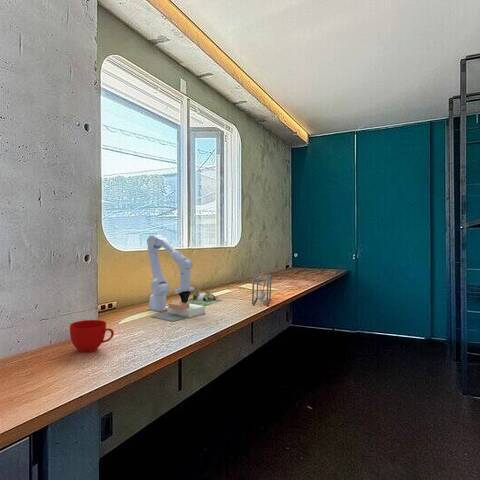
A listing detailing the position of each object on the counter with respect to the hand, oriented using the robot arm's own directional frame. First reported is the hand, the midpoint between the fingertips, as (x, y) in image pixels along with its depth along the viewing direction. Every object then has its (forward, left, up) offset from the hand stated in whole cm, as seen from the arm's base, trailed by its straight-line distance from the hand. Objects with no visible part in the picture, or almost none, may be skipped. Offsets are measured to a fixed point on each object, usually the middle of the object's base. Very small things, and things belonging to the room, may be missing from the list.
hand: (184, 304), depth 208 cm
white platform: (0, +2, -5) cm, 5 cm away
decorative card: (-15, +35, -6) cm, 38 cm away
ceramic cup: (+15, -70, -5) cm, 72 cm away
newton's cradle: (+16, +62, -5) cm, 64 cm away
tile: (0, -5, 0) cm, 5 cm away
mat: (0, -12, -5) cm, 13 cm away
